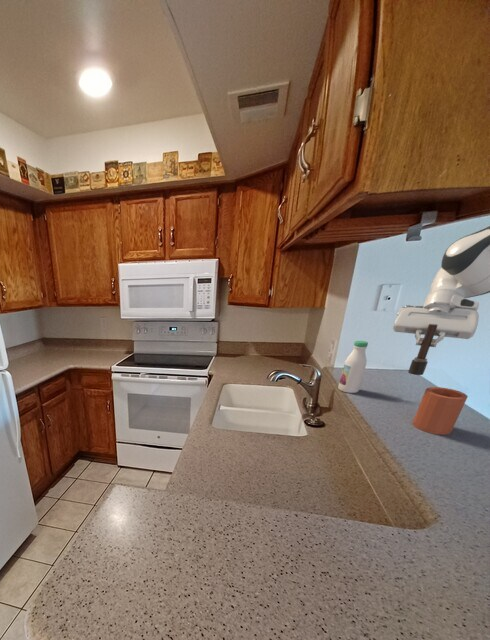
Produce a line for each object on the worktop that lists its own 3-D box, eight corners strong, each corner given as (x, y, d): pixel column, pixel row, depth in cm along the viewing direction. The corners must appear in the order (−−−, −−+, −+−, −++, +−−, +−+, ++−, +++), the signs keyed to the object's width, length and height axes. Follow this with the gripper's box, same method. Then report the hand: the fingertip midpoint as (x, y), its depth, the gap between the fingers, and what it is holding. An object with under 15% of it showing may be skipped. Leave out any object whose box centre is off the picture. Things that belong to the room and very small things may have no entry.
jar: (444, 423, 109) (460, 389, 103) (456, 436, 101) (473, 400, 95) (409, 418, 112) (422, 385, 107) (417, 431, 104) (431, 396, 98)
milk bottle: (359, 389, 137) (373, 341, 128) (357, 394, 132) (371, 344, 122) (339, 385, 141) (352, 338, 132) (336, 390, 136) (349, 342, 126)
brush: (421, 372, 105) (439, 323, 98) (424, 375, 102) (443, 326, 95) (406, 370, 107) (423, 322, 99) (409, 374, 103) (427, 325, 96)
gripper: (402, 298, 105) (387, 334, 103) (486, 302, 94) (471, 343, 91) (399, 311, 110) (385, 346, 108) (479, 317, 99) (465, 356, 97)
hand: (425, 345), depth 100 cm, fingers closed on brush, 2 cm apart
